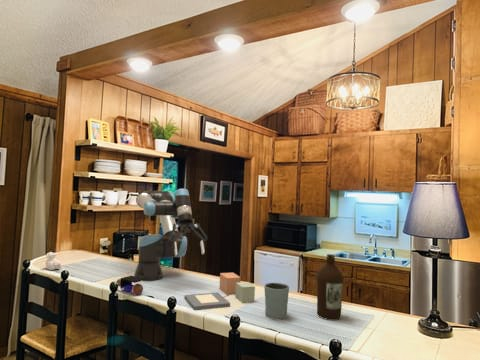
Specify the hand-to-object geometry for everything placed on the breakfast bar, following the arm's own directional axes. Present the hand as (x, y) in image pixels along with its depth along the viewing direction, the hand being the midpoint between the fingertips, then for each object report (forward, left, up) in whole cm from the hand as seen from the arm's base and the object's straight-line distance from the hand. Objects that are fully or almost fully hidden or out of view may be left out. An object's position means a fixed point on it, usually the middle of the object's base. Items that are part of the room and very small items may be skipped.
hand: (189, 254), depth 169 cm
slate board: (+20, +3, -18) cm, 27 cm away
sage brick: (+21, +21, -18) cm, 34 cm away
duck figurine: (-60, -65, -18) cm, 90 cm away
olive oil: (+50, +46, -18) cm, 70 cm away
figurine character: (-4, -27, -18) cm, 33 cm away
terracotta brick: (+7, +19, -18) cm, 27 cm away
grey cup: (+43, +25, -18) cm, 53 cm away
